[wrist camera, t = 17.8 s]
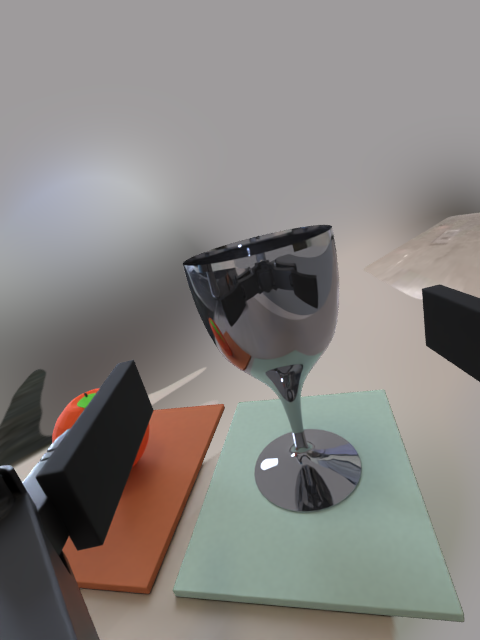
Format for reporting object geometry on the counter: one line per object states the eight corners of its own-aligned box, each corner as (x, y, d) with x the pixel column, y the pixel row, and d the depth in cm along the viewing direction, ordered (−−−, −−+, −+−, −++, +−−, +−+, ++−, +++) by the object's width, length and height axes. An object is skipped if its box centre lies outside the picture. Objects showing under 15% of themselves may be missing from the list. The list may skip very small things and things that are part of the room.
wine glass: (227, 498, 21) (150, 274, 16) (275, 419, 27) (231, 241, 22) (354, 538, 17) (301, 249, 12) (378, 434, 23) (348, 217, 18)
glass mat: (175, 596, 17) (172, 590, 16) (239, 406, 31) (238, 402, 31) (464, 623, 13) (464, 615, 13) (385, 394, 28) (384, 389, 27)
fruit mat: (-29, 578, 21) (-33, 573, 20) (112, 417, 35) (110, 413, 35) (149, 594, 17) (146, 588, 17) (225, 407, 32) (223, 403, 31)
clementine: (185, 459, 25) (156, 380, 23) (103, 531, 21) (56, 443, 19) (135, 429, 31) (107, 364, 29) (62, 481, 26) (22, 408, 24)
